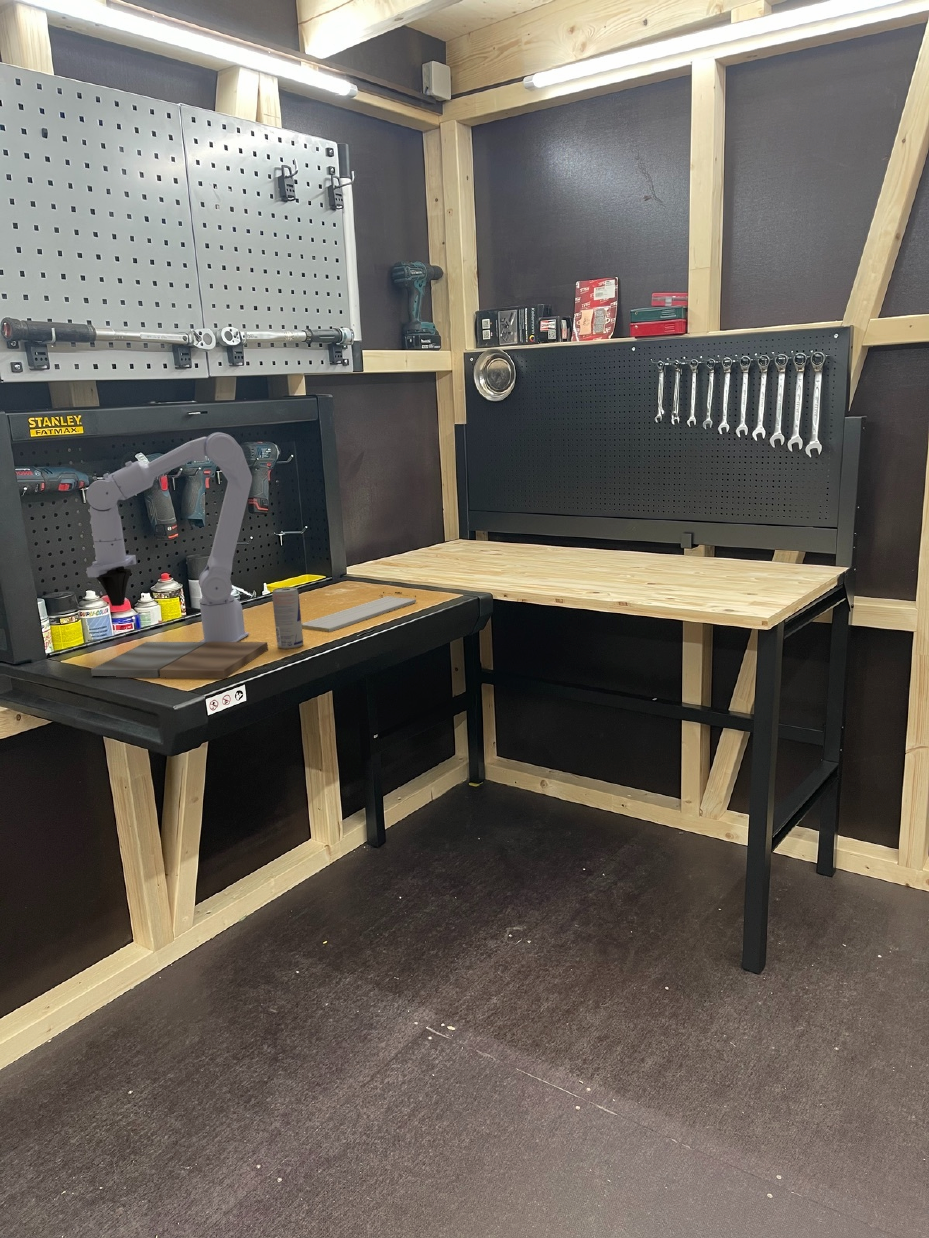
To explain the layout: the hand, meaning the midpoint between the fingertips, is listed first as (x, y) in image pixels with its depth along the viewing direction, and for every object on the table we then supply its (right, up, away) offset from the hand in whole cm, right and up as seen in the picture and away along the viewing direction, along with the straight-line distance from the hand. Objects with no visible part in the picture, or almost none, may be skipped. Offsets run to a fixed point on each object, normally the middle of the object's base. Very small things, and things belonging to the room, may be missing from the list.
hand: (118, 605), depth 190 cm
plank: (+9, -11, -5) cm, 16 cm away
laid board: (+23, -12, -8) cm, 27 cm away
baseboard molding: (+46, -3, +27) cm, 53 cm away
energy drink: (+35, -9, +2) cm, 36 cm away
